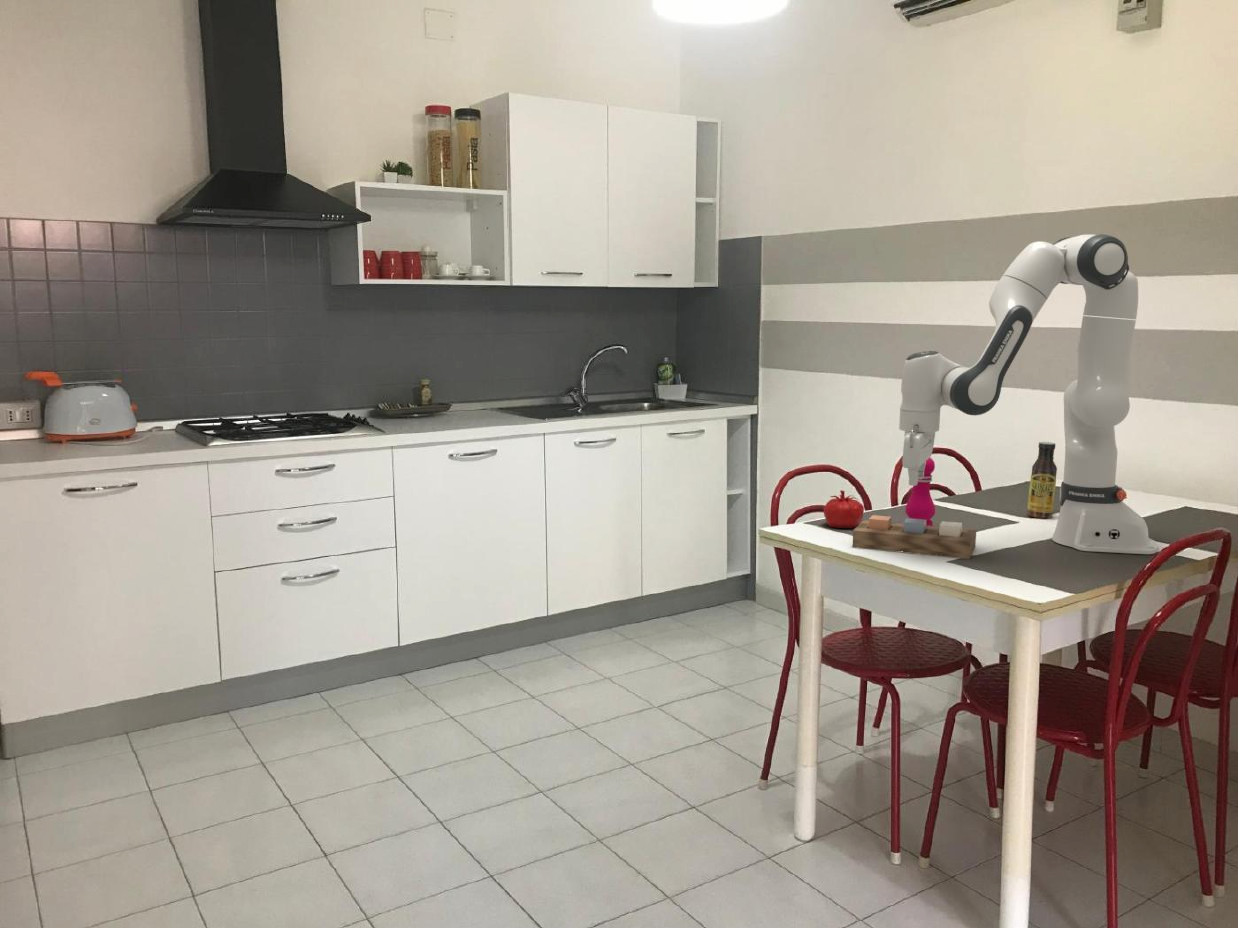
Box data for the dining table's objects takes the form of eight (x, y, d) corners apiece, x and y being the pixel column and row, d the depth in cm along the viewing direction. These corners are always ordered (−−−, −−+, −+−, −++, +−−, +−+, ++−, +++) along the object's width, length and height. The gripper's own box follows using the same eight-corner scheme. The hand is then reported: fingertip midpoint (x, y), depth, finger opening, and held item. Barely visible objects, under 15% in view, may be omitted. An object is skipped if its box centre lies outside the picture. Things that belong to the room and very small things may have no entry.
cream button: (961, 537, 231) (962, 522, 231) (958, 541, 227) (959, 526, 227) (941, 535, 233) (942, 521, 233) (938, 540, 229) (939, 525, 229)
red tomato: (860, 532, 250) (862, 496, 248) (820, 528, 253) (821, 493, 251) (865, 523, 259) (867, 488, 257) (826, 519, 262) (827, 485, 261)
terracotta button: (890, 531, 238) (891, 516, 237) (887, 535, 234) (887, 520, 234) (872, 529, 240) (872, 515, 239) (868, 533, 236) (868, 518, 235)
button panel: (975, 546, 234) (976, 530, 233) (969, 558, 223) (970, 541, 223) (863, 535, 245) (863, 520, 244) (852, 547, 234) (853, 530, 234)
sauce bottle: (1026, 518, 264) (1031, 443, 260) (1026, 513, 270) (1031, 440, 266) (1053, 520, 261) (1059, 444, 258) (1053, 515, 267) (1058, 441, 264)
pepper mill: (935, 531, 249) (939, 452, 246) (905, 530, 251) (909, 451, 248) (932, 524, 256) (936, 447, 253) (903, 523, 258) (907, 447, 255)
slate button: (925, 534, 235) (926, 519, 234) (922, 538, 231) (923, 523, 230) (906, 532, 237) (907, 518, 236) (903, 536, 233) (903, 521, 232)
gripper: (926, 428, 219) (923, 490, 221) (940, 418, 237) (936, 475, 239) (897, 427, 221) (894, 488, 224) (912, 417, 240) (909, 473, 242)
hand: (916, 481), depth 232 cm, fingers open, 7 cm apart
